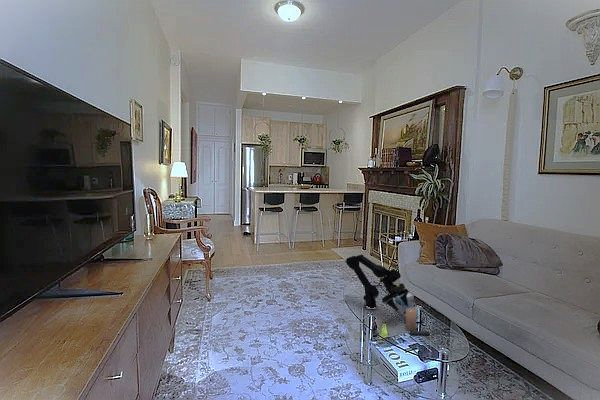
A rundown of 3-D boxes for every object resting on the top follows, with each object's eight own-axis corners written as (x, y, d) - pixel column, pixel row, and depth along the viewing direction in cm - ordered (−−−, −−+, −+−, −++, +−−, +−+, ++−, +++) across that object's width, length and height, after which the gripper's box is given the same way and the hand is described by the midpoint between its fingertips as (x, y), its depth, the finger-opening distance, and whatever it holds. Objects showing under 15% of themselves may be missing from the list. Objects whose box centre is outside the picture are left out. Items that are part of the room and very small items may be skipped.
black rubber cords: (410, 335, 191) (410, 332, 191) (404, 321, 206) (404, 318, 206) (430, 335, 190) (430, 332, 190) (422, 321, 205) (422, 318, 205)
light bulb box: (402, 314, 215) (402, 299, 213) (394, 310, 221) (394, 295, 219) (413, 310, 220) (414, 295, 218) (406, 306, 225) (406, 291, 224)
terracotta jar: (408, 331, 195) (408, 313, 193) (403, 326, 201) (404, 308, 199) (417, 330, 196) (418, 312, 194) (413, 325, 202) (413, 307, 200)
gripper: (385, 283, 200) (398, 308, 192) (406, 276, 209) (420, 299, 201) (376, 291, 208) (388, 314, 200) (397, 283, 217) (410, 305, 209)
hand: (402, 308), depth 203 cm, fingers open, 9 cm apart
